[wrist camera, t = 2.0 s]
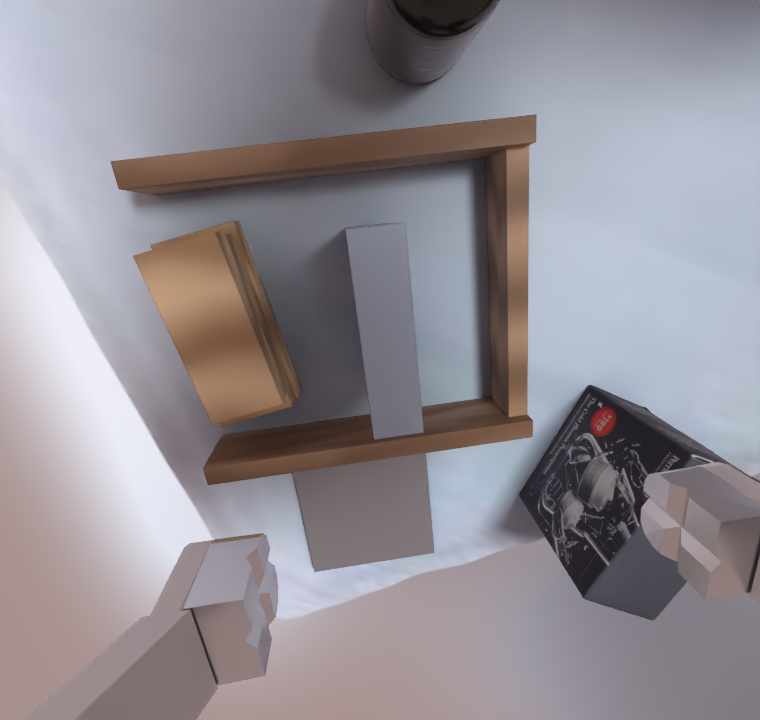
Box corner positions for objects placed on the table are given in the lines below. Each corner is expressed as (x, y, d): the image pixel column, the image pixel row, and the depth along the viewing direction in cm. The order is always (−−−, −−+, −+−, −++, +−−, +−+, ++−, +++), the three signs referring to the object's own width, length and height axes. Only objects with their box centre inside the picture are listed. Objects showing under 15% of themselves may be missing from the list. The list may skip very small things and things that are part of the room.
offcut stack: (162, 243, 30) (120, 248, 24) (239, 221, 30) (215, 220, 24) (234, 407, 35) (213, 442, 29) (301, 387, 34) (293, 419, 29)
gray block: (344, 228, 30) (346, 229, 20) (383, 223, 31) (405, 222, 20) (364, 374, 34) (374, 439, 24) (399, 370, 35) (423, 432, 24)
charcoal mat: (293, 463, 36) (292, 468, 36) (423, 443, 37) (425, 448, 36) (315, 565, 40) (314, 571, 40) (432, 546, 41) (434, 552, 40)
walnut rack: (149, 172, 28) (110, 161, 23) (505, 132, 29) (536, 114, 25) (225, 450, 35) (208, 485, 31) (507, 409, 37) (532, 437, 32)
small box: (586, 381, 37) (696, 451, 25) (645, 406, 38) (773, 484, 27) (515, 495, 40) (583, 602, 29) (571, 515, 41) (657, 624, 30)
